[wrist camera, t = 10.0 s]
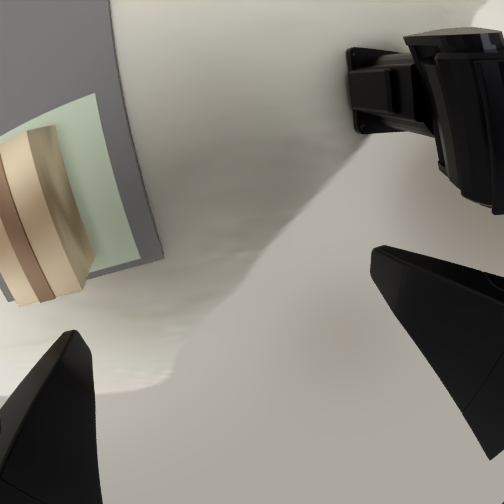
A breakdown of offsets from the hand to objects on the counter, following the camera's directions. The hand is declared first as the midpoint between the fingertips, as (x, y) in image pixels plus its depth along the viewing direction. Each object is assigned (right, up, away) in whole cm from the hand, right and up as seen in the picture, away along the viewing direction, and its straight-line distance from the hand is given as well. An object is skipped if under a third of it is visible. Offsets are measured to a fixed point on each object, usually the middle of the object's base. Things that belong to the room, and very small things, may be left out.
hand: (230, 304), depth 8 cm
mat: (-14, +11, +4) cm, 19 cm away
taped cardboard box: (-13, +4, +7) cm, 15 cm away
